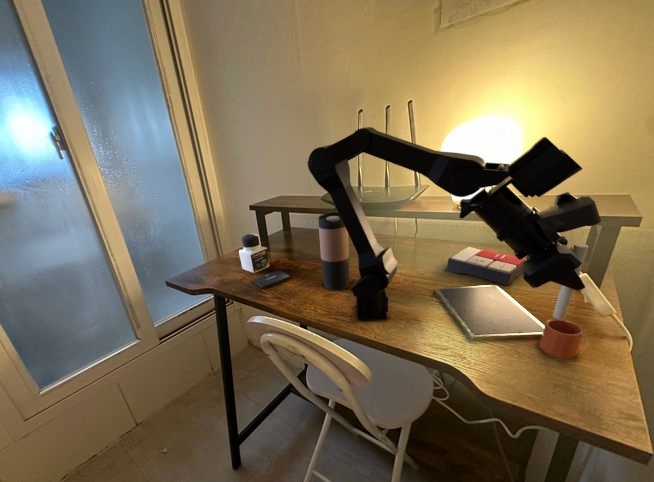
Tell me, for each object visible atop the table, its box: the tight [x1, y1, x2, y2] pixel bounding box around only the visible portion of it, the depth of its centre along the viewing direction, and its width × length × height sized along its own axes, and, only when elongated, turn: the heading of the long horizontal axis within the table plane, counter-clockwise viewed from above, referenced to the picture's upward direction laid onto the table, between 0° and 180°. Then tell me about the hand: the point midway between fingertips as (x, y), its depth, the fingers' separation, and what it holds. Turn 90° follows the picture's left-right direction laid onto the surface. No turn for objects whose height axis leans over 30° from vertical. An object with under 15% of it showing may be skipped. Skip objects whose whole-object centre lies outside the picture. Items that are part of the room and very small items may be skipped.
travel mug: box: [317, 211, 350, 291], centre depth 83 cm, size 8×8×20 cm
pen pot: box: [539, 318, 586, 359], centre depth 52 cm, size 5×5×5 cm
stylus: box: [552, 243, 589, 320], centre depth 49 cm, size 2×2×13 cm
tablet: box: [434, 284, 545, 341], centre depth 66 cm, size 14×20×1 cm
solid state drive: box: [252, 269, 291, 289], centre depth 95 cm, size 7×10×1 cm
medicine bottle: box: [238, 233, 270, 274], centre depth 104 cm, size 7×7×12 cm
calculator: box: [446, 246, 527, 286], centre depth 82 cm, size 11×4×15 cm
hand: (580, 286), depth 48 cm, fingers closed on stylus, 1 cm apart
